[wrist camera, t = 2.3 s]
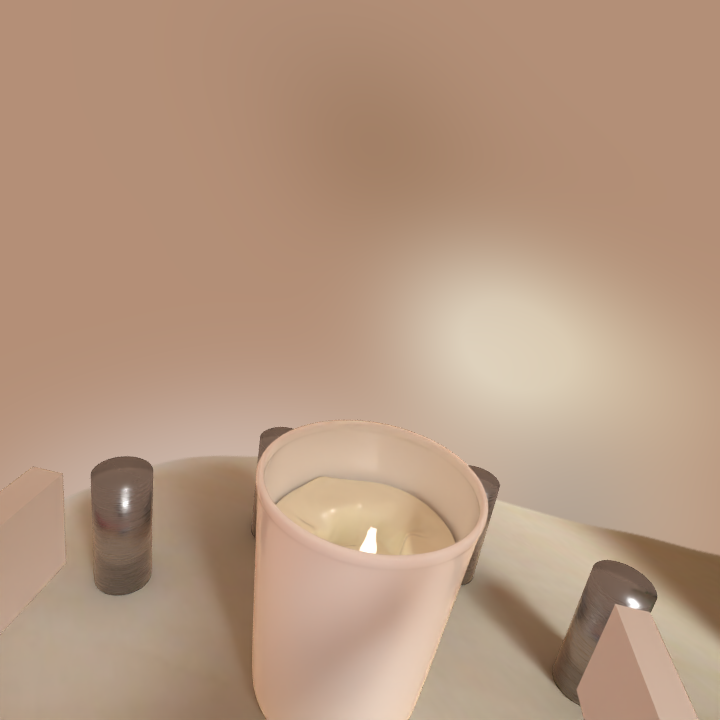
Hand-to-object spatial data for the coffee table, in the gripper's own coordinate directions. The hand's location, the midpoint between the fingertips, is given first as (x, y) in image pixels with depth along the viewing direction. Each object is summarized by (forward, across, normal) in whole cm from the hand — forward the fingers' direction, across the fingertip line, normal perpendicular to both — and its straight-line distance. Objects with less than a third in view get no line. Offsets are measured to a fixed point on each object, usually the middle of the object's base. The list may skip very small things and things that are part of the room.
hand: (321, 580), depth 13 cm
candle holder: (+10, +1, -16) cm, 18 cm away
